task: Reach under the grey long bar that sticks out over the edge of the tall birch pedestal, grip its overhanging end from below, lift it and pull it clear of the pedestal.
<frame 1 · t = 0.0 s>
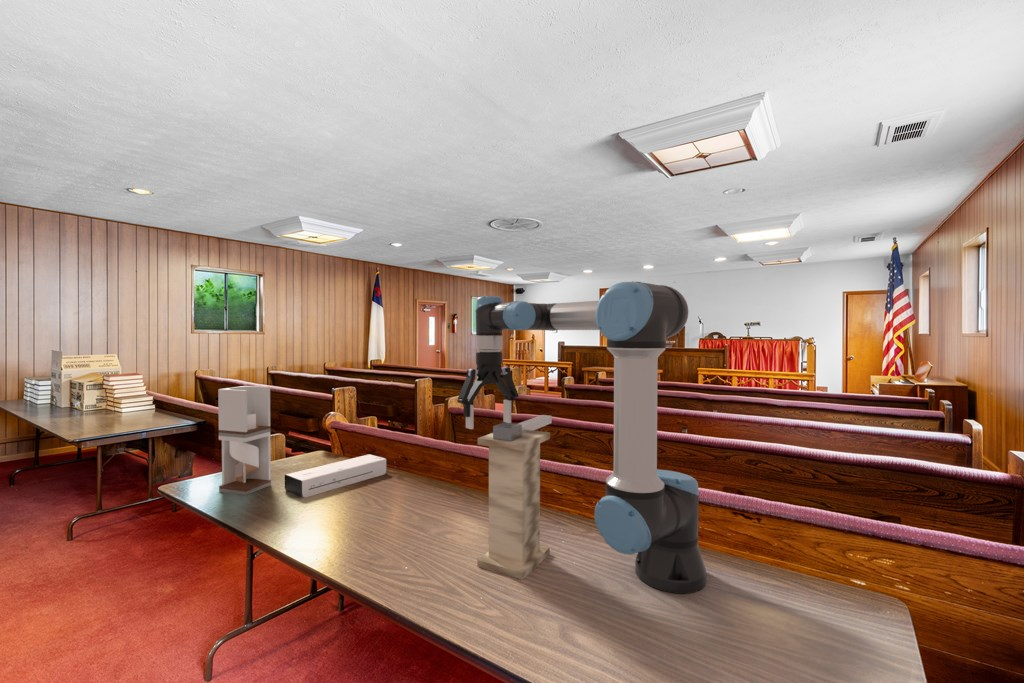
hand: (489, 425, 133), 28 cm above the table, tool pointing down, fingers open, 13 cm apart
white tower: (245, 489, 162), on the table
grey long bar: (514, 435, 111), point 30 cm above the table, touching pedestal
laminator: (337, 483, 170), on the table
pedestal: (514, 559, 112), on the table
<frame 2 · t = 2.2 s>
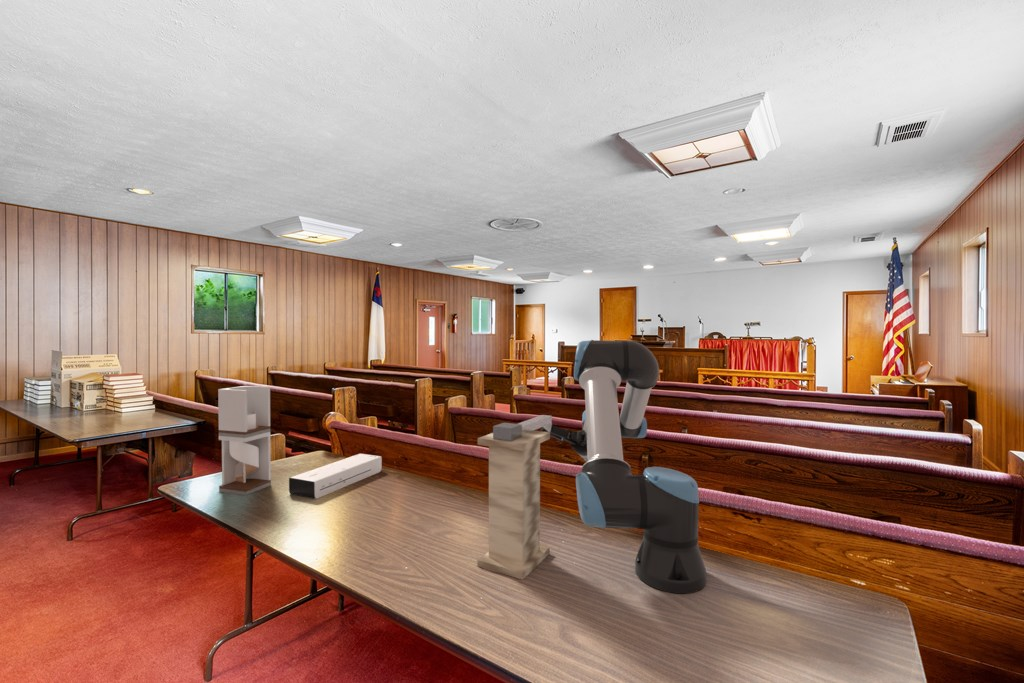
hand: (563, 422, 137), 28 cm above the table, tool pointing upward, fingers open, 13 cm apart
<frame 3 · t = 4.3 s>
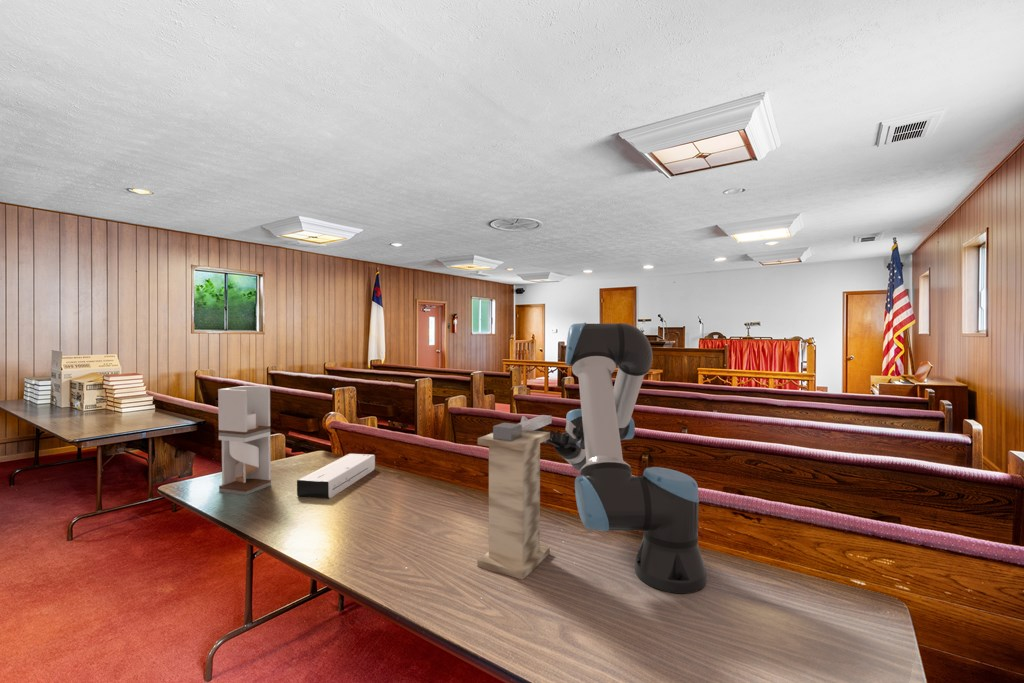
hand: (544, 422, 126), 30 cm above the table, tool pointing upward, fingers open, 13 cm apart
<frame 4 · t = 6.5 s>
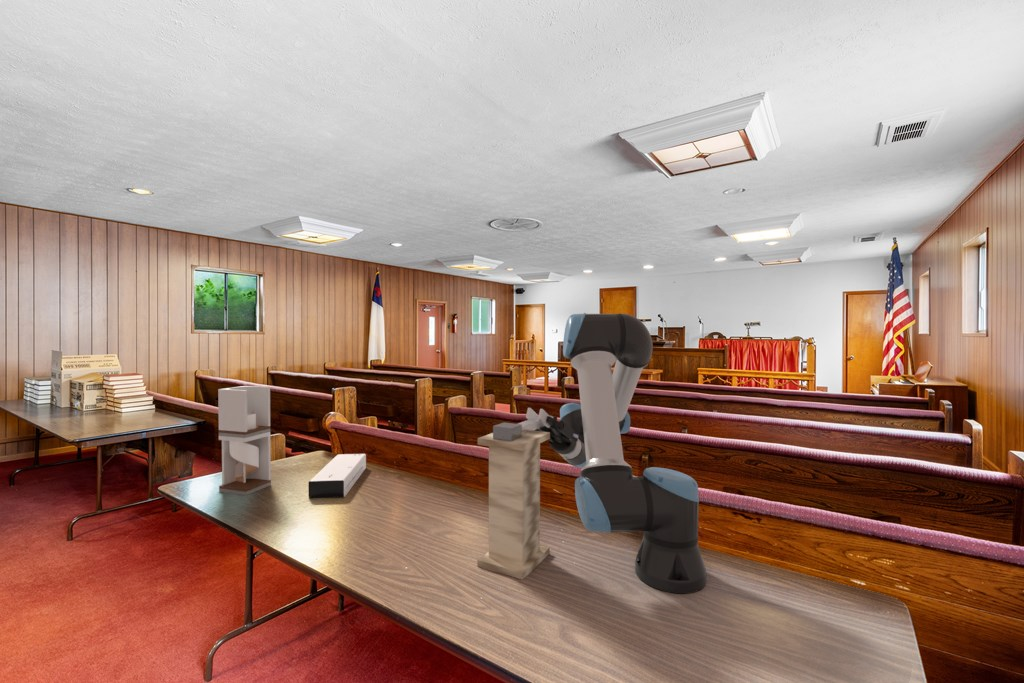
hand: (534, 413, 120), 34 cm above the table, tool pointing upward, fingers closed on grey long bar, 3 cm apart
grey long bar: (514, 435, 111), point 30 cm above the table, touching gripper, pedestal
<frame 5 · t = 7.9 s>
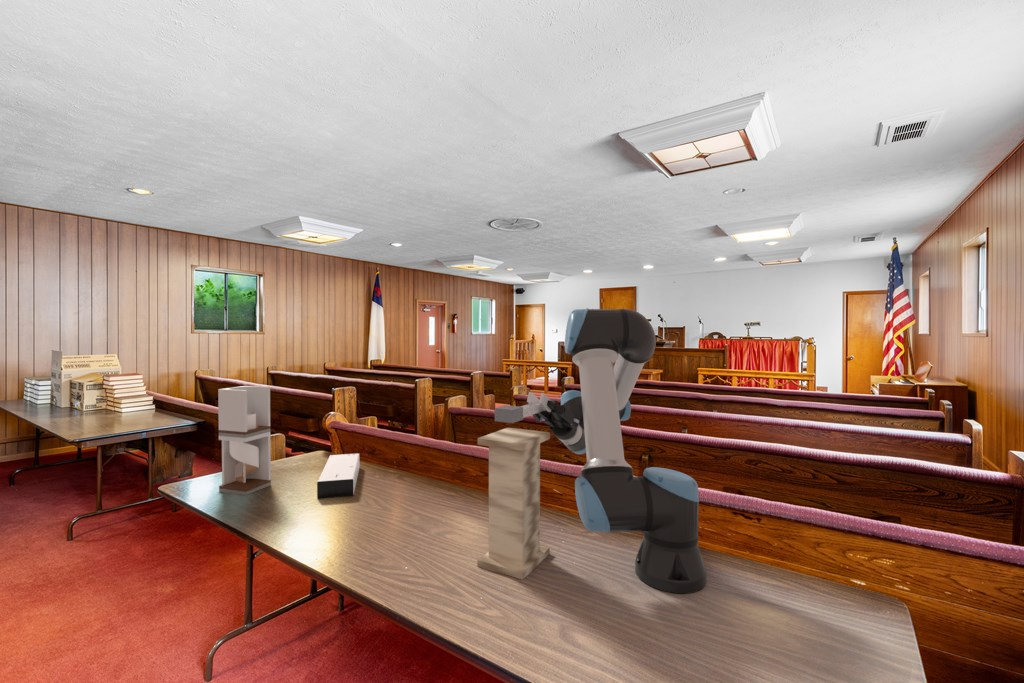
hand: (535, 397, 121), 38 cm above the table, tool pointing upward, fingers closed on grey long bar, 3 cm apart
grey long bar: (516, 417, 112), point 34 cm above the table, touching gripper
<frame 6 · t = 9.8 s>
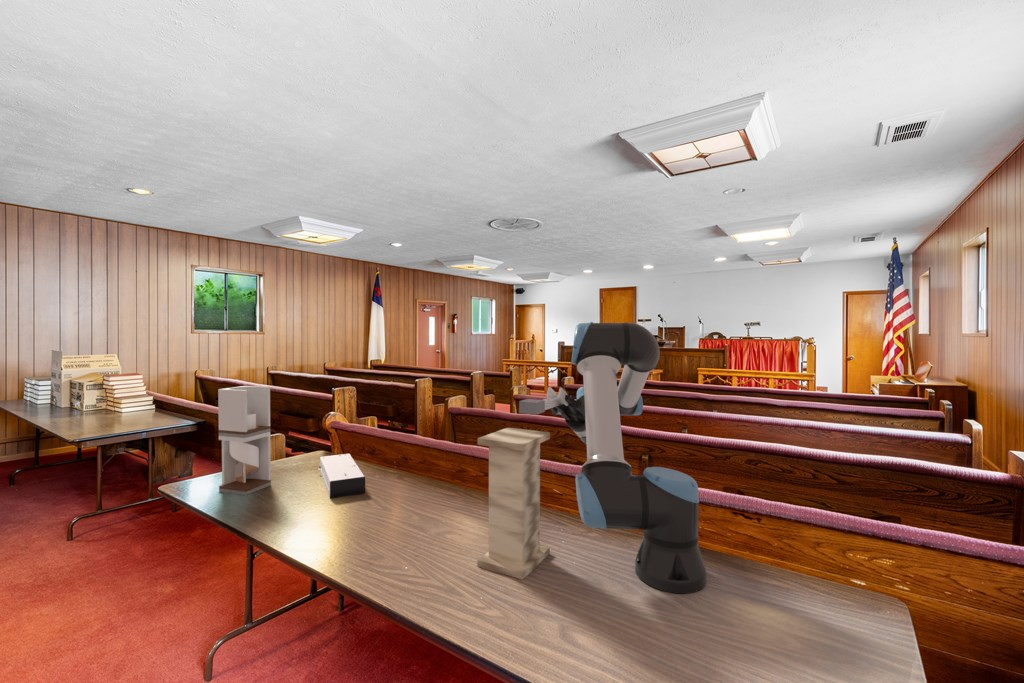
hand: (554, 391, 131), 38 cm above the table, tool pointing upward, fingers closed on grey long bar, 3 cm apart
grey long bar: (538, 410, 122), point 34 cm above the table, touching gripper
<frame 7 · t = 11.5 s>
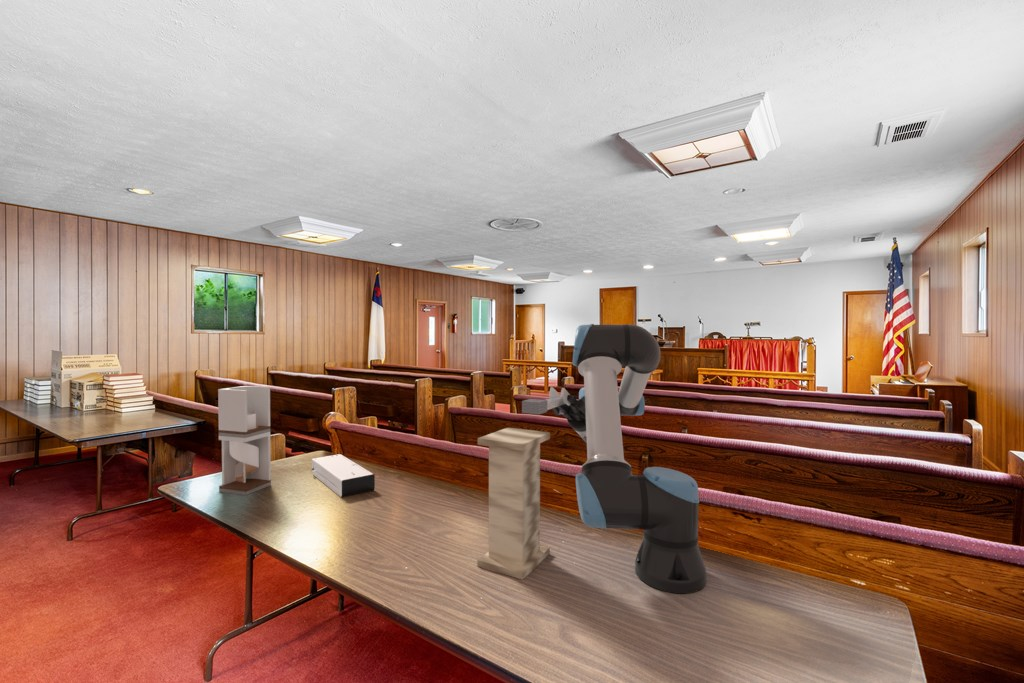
hand: (556, 391, 132), 38 cm above the table, tool pointing upward, fingers closed on grey long bar, 3 cm apart
grey long bar: (540, 410, 123), point 34 cm above the table, touching gripper
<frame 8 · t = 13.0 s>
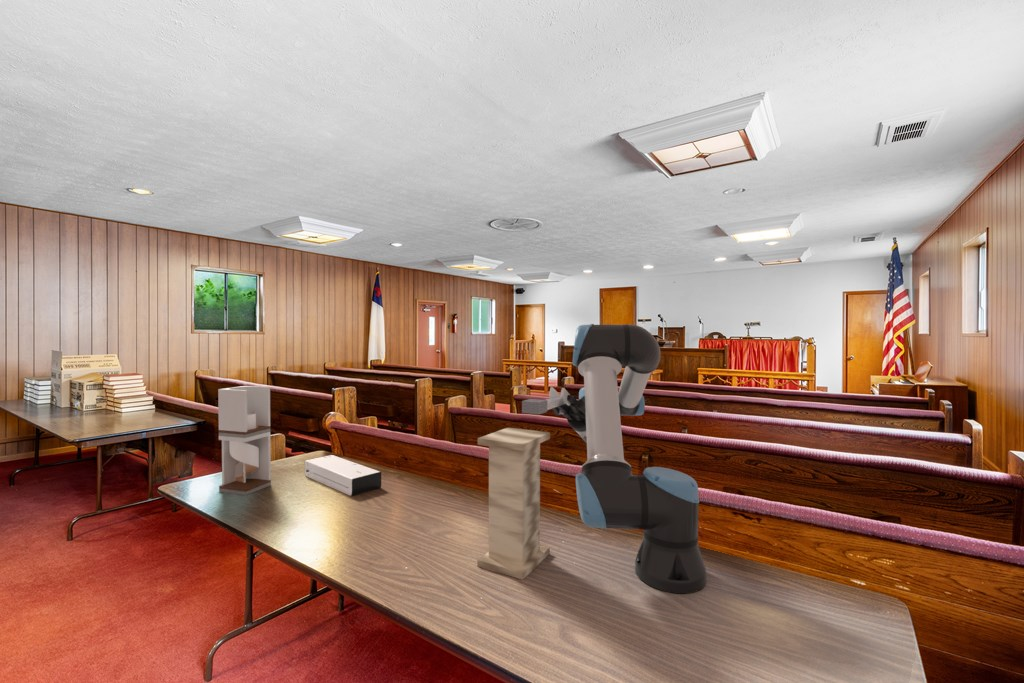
hand: (556, 391, 132), 38 cm above the table, tool pointing upward, fingers closed on grey long bar, 3 cm apart
grey long bar: (540, 410, 123), point 34 cm above the table, touching gripper
at the end: the gripper is holding grey long bar; grey long bar touching gripper; grey long bar moved 14.6 cm from its start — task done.
